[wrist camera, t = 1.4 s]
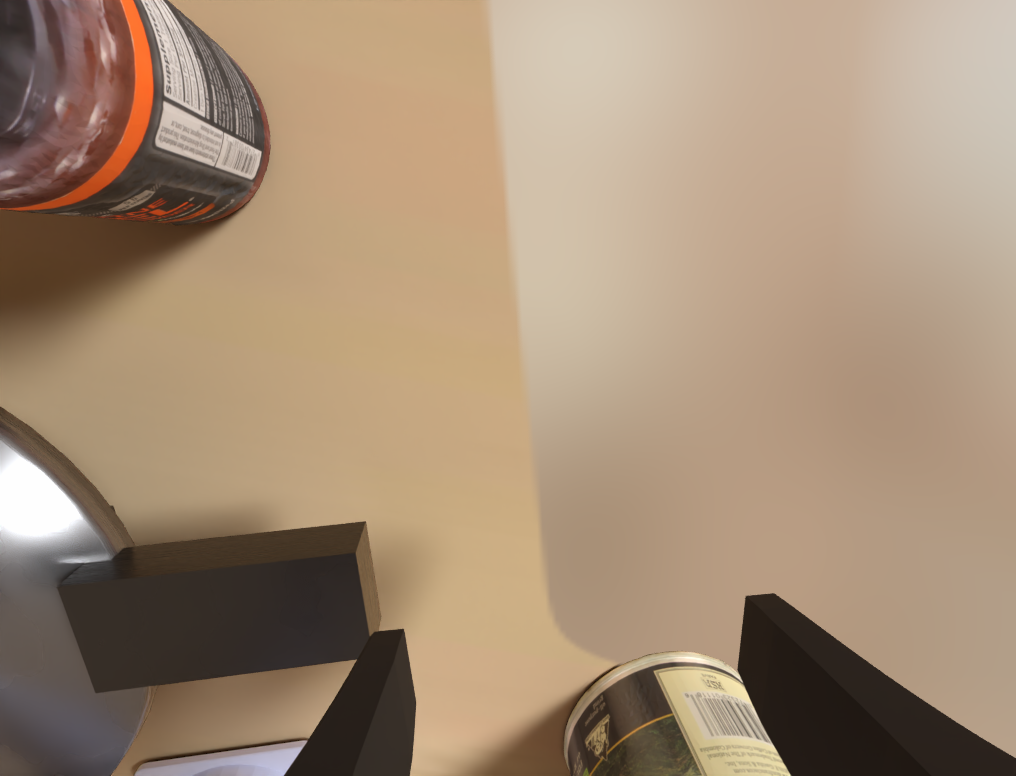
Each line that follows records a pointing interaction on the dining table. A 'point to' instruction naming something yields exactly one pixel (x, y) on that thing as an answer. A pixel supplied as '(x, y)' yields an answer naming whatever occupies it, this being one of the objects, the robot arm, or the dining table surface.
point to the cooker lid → (146, 611)
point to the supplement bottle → (124, 114)
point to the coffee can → (669, 722)
